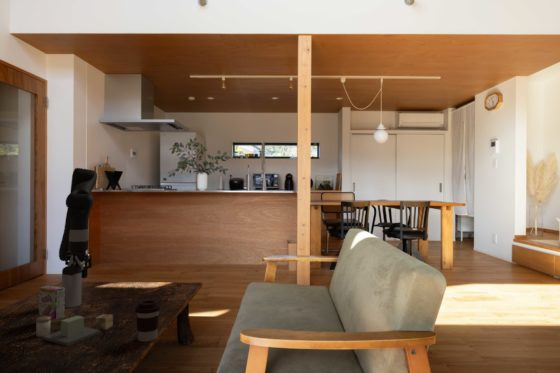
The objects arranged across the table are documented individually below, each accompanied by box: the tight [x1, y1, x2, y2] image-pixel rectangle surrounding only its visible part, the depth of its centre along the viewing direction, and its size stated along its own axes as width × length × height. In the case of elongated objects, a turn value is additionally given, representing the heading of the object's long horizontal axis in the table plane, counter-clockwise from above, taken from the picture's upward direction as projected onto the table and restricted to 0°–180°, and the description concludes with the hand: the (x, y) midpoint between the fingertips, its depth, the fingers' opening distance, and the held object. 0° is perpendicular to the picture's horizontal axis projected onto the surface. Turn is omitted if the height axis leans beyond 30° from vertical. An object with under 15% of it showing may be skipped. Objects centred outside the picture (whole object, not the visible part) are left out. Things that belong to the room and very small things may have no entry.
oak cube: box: [94, 313, 114, 331], centre depth 164 cm, size 5×5×5 cm
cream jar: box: [35, 316, 51, 338], centre depth 156 cm, size 5×5×7 cm
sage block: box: [60, 315, 85, 337], centre depth 154 cm, size 4×7×6 cm, turn 155°
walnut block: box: [50, 317, 67, 333], centre depth 162 cm, size 4×6×4 cm, turn 135°
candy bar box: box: [38, 285, 66, 320], centre depth 169 cm, size 11×5×16 cm, turn 71°
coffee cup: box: [134, 299, 162, 343], centre depth 152 cm, size 10×10×15 cm
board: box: [42, 326, 102, 347], centre depth 154 cm, size 15×15×1 cm
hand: (77, 276), depth 160 cm, fingers open, 8 cm apart
